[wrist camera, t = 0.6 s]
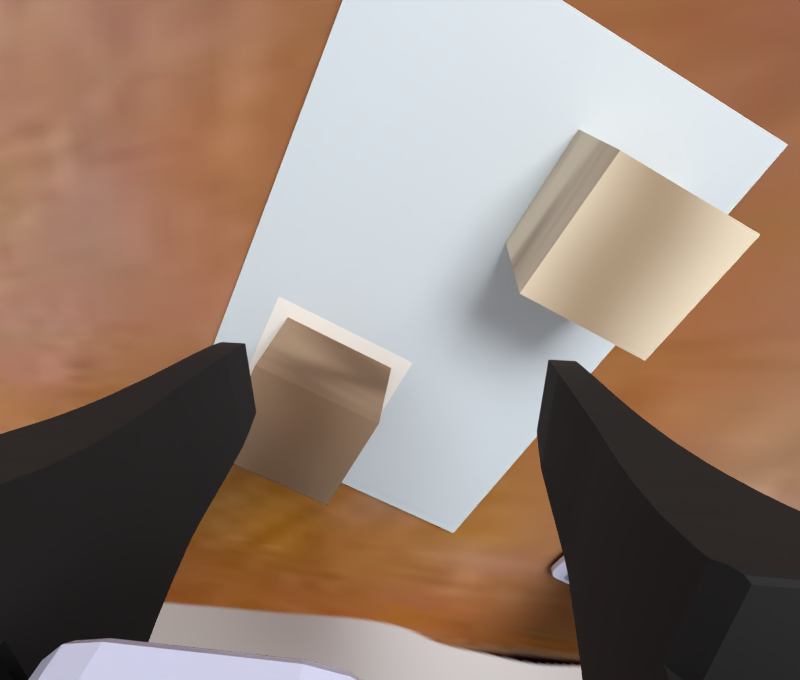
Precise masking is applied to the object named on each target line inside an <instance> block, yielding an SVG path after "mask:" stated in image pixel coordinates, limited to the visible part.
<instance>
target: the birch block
mask: <svg viewBox="0 0 800 680" xmlns="http://www.w3.org/2000/svg"><path fill="white" fill-rule="evenodd" d="M759 236H760V234H758V233H757V232H755V231H753V230H752V229H750V228H749V227H747V226H745V225H744V224H742V223H740V222H739V221H737V220H735V219H734V218H732V217H730V216H729V215H727V214H725V213H724V212H722V211H720V210H719V209H717V208H715V207H714V206H712V205H710V204H709V203H707V202H705V201H704V200H702V199H700V198H699V197H697V196H695V195H694V194H692V193H690V192H689V191H687V190H685V189H684V188H682V187H680V186H679V185H677V184H675V183H674V182H672V181H670V180H669V179H667V178H666V177H664V176H662V175H661V174H659V173H657V172H656V171H654V170H652V169H651V168H649V167H647V166H646V165H644V164H642V163H641V162H639V161H637V160H636V159H634V158H632V157H631V156H629V155H627V154H626V153H624V152H622V151H621V150H619V149H617V148H615V147H613V146H611V145H609V144H607V143H605V142H603V141H601V140H599V139H597V138H595V137H593V136H591V135H589V134H587V133H585V132H583V131H581V130H578V131H577V133H576V134H575V136H574V137H573V139H572V140H571V142H570V144H569V145H568V147H567V148H566V150H565V151H564V153H563V154H562V156H561V157H560V159H559V160H558V162H557V164H556V165H555V167H554V168H553V170H552V171H551V173H550V174H549V176H548V177H547V179H546V181H545V182H544V184H543V185H542V187H541V188H540V190H539V191H538V193H537V194H536V196H535V198H534V199H533V201H532V202H531V204H530V205H529V207H528V208H527V210H526V211H525V213H524V214H523V216H522V218H521V219H520V221H519V222H518V224H517V225H516V227H515V228H514V230H513V231H512V233H511V235H510V236H509V238H508V239H507V241H506V245H507V249H508V253H509V256H510V260H511V264H512V267H513V271H514V275H515V278H516V282H517V286H518V289H519V293H520V294H521V295H523V296H525V297H527V298H529V299H531V300H533V301H535V302H536V303H538V304H540V305H542V306H544V307H546V308H548V309H549V310H551V311H553V312H555V313H557V314H559V315H561V316H562V317H564V318H566V319H568V320H570V321H572V322H574V323H575V324H577V325H579V326H581V327H583V328H585V329H587V330H589V331H590V332H592V333H594V334H596V335H598V336H600V337H602V338H603V339H605V340H607V341H609V342H611V343H613V344H615V345H616V346H618V347H620V348H622V349H624V350H626V351H628V352H629V353H631V354H633V355H635V356H637V357H639V358H641V359H643V360H644V361H645V360H646V359H647V358H648V357H649V356H650V355H651V354H652V353H653V352H654V350H655V349H656V348H657V347H658V346H659V345H660V344H661V343H662V342H663V341H664V339H665V338H666V337H667V336H668V335H669V334H670V333H671V332H672V331H673V330H674V329H675V327H676V326H677V325H678V324H679V323H680V322H681V321H682V320H683V319H684V318H685V317H686V315H687V314H688V313H689V312H690V311H691V310H692V309H693V308H694V307H695V306H696V305H697V303H698V302H699V301H700V300H701V299H702V298H703V297H704V296H705V295H706V294H707V293H708V291H709V290H710V289H711V288H712V287H713V286H714V285H715V284H716V283H717V282H718V281H719V279H720V278H721V277H722V276H723V275H724V274H725V273H726V272H727V271H728V270H729V268H730V267H731V266H732V265H733V264H734V263H735V262H736V261H737V260H738V259H739V258H740V256H741V255H742V254H743V253H744V252H745V251H746V250H747V249H748V248H749V247H750V246H751V244H752V243H753V242H754V241H755V240H756V239H757V238H758V237H759Z"/></svg>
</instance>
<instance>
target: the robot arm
mask: <svg viewBox="0 0 800 680" xmlns="http://www.w3.org/2000/svg"><path fill="white" fill-rule="evenodd" d="M255 415H256V407H255V401H254V394H253V388H252V382H251V376H250V370H249V363H248V357H247V351H246V345H245V343H230V342H220V343H217V344H214V345H212V346H210V347H208V348H205V349H203V350H201V351H199V352H197V353H195V354H193V355H191V356H189V357H187V358H185V359H183V360H181V361H179V362H177V363H175V364H173V365H171V366H169V367H168V368H166V369H164V370H162V371H160V372H158V373H156V374H154V375H152V376H150V377H148V378H146V379H144V380H141V381H139V382H137V383H135V384H133V385H131V386H129V387H126V388H124V389H122V390H120V391H118V392H116V393H114V394H112V395H109V396H107V397H105V398H102V399H100V400H98V401H95V402H93V403H90V404H88V405H86V406H83V407H80V408H78V409H75V410H72V411H70V412H67V413H64V414H62V415H59V416H56V417H53V418H51V419H47V420H44V421H41V422H38V423H35V424H32V425H28V426H25V427H22V428H19V429H16V430H12V431H9V432H6V433H3V434H0V680H362V679H360V678H359V677H357V676H356V675H354V674H352V673H351V672H349V671H347V670H343V669H339V668H335V667H332V666H328V665H324V664H320V663H316V662H312V661H309V660H303V659H295V658H285V657H276V656H267V655H258V654H249V653H239V652H231V651H221V650H213V649H203V648H195V647H186V646H177V645H167V644H158V643H150V642H148V641H149V639H150V636H151V633H152V630H153V628H154V625H155V623H156V620H157V618H158V615H159V613H160V610H161V608H162V605H163V603H164V600H165V598H166V596H167V593H168V591H169V588H170V586H171V583H172V581H173V579H174V576H175V574H176V572H177V569H178V567H179V565H180V563H181V560H182V558H183V556H184V554H185V551H186V549H187V547H188V545H189V542H190V540H191V538H192V536H193V534H194V532H195V530H196V528H197V527H198V525H199V523H200V521H201V519H202V517H203V516H204V514H205V512H206V511H207V509H208V507H209V505H210V504H211V502H212V500H213V498H214V497H215V495H216V493H217V492H218V490H219V488H220V486H221V485H222V483H223V481H224V480H225V478H226V476H227V474H228V473H229V471H230V469H231V467H232V466H233V464H234V462H235V460H236V458H237V457H238V455H239V453H240V451H241V449H242V448H243V446H244V443H245V441H246V438H247V436H248V433H249V431H250V428H251V426H252V423H253V420H254V417H255ZM537 438H538V447H539V455H540V463H541V470H542V474H543V478H544V482H545V485H546V489H547V493H548V497H549V501H550V505H551V509H552V512H553V516H554V520H555V524H556V527H557V531H558V535H559V539H560V543H561V546H562V550H563V554H564V555H563V556H562V557H561V558H560V559H559V560H558V561H557V562H556V563H555V564H554V565H553V566H552V567H551V571H552V575H553V577H554V578H556V579H558V580H560V581H563V582H565V583H567V584H569V585H570V592H571V599H572V605H573V612H574V618H575V626H576V633H577V640H578V648H579V655H580V663H581V670H582V678H583V680H800V511H798V510H796V509H794V508H792V507H789V506H787V505H785V504H783V503H781V502H779V501H777V500H775V499H773V498H771V497H769V496H767V495H765V494H762V493H761V492H759V491H757V490H755V489H753V488H751V487H749V486H747V485H746V484H744V483H742V482H740V481H738V480H736V479H734V478H733V477H731V476H729V475H727V474H725V473H723V472H722V471H720V470H718V469H717V468H715V467H713V466H711V465H710V464H708V463H706V462H705V461H703V460H702V459H700V458H699V457H697V456H695V455H694V454H692V453H691V452H689V451H688V450H686V449H684V448H683V447H681V446H680V445H678V444H677V443H675V442H674V441H672V440H671V439H670V438H668V437H667V436H665V435H664V434H663V433H661V432H660V431H659V430H657V429H656V428H655V427H653V426H652V425H651V424H649V423H648V422H647V421H645V420H644V419H643V418H642V417H640V416H639V415H638V414H637V413H635V412H634V411H633V410H632V409H630V408H629V407H628V406H627V405H626V404H624V403H623V402H622V401H621V400H620V399H619V398H617V397H616V396H615V395H614V394H613V393H612V392H611V391H609V390H608V389H607V388H606V387H605V386H604V385H603V384H602V383H601V382H599V381H598V380H597V379H596V378H595V377H594V376H593V375H592V374H591V373H589V372H588V371H587V370H586V369H585V368H584V367H583V366H581V365H580V364H579V363H578V362H576V361H566V360H548V366H547V372H546V378H545V384H544V390H543V396H542V402H541V408H540V414H539V420H538V426H537Z"/></svg>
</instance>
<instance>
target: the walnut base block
mask: <svg viewBox="0 0 800 680" xmlns="http://www.w3.org/2000/svg"><path fill="white" fill-rule="evenodd" d="M390 372H391V368H390V367H388V366H386V365H384V364H382V363H380V362H378V361H376V360H374V359H372V358H370V357H368V356H366V355H364V354H362V353H360V352H358V351H356V350H354V349H352V348H350V347H348V346H346V345H344V344H341V343H339V342H337V341H335V340H333V339H331V338H329V337H327V336H325V335H323V334H321V333H319V332H317V331H315V330H313V329H311V328H309V327H307V326H305V325H303V324H301V323H299V322H297V321H295V320H293V319H291V318H289V317H288V318H287V319H286V321H285V322H284V324H283V325H282V327H281V328H280V330H279V331H278V333H277V334H276V336H275V337H274V338H273V340H272V341H271V343H270V344H269V346H268V347H267V349H266V350H265V352H264V353H263V355H262V356H261V357H260V359H259V360H258V362H257V363H256V365H255V367H254V369H253V371H252V374H251V382H252V388H253V394H254V401H255V407H256V415H255V417H254V420H253V423H252V426H251V428H250V431H249V433H248V436H247V438H246V441H245V443H244V446H243V448H242V449H241V451H240V453H239V455H238V457H237V458H236V460H235V462H234V464H235V465H237V466H239V467H242V468H244V469H246V470H248V471H251V472H253V473H255V474H257V475H260V476H262V477H264V478H266V479H269V480H271V481H273V482H275V483H278V484H280V485H282V486H285V487H287V488H289V489H291V490H294V491H296V492H298V493H300V494H303V495H305V496H307V497H309V498H312V499H314V500H316V501H319V502H321V503H323V504H325V505H328V503H329V501H330V500H331V498H332V497H333V495H334V494H335V492H336V490H337V489H338V487H339V486H340V484H341V483H342V481H343V479H344V478H345V476H346V475H347V473H348V472H349V470H350V468H351V467H352V465H353V464H354V462H355V461H356V459H357V457H358V456H359V454H360V453H361V451H362V449H363V448H364V446H365V445H366V443H367V442H368V440H369V438H370V437H371V435H372V434H373V432H374V431H375V429H376V427H377V426H378V424H379V421H380V417H381V412H382V408H383V403H384V399H385V394H386V390H387V385H388V381H389V376H390Z"/></svg>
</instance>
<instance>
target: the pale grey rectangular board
mask: <svg viewBox="0 0 800 680" xmlns="http://www.w3.org/2000/svg"><path fill="white" fill-rule="evenodd" d="M578 130H581V131H583V132H585V133H587V134H589V135H591V136H593V137H595V138H597V139H599V140H601V141H603V142H605V143H607V144H609V145H611V146H613V147H615V148H617V149H619V150H621V151H622V152H624V153H626V154H627V155H629V156H631V157H632V158H634V159H636V160H637V161H639V162H641V163H642V164H644V165H646V166H647V167H649V168H651V169H652V170H654V171H656V172H657V173H659V174H661V175H662V176H664V177H666V178H667V179H669V180H670V181H672V182H674V183H675V184H677V185H679V186H680V187H682V188H684V189H685V190H687V191H689V192H690V193H692V194H694V195H695V196H697V197H699V198H700V199H702V200H704V201H705V202H707V203H709V204H710V205H712V206H714V207H715V208H717V209H719V210H720V211H722V212H724V213H725V214H727V215H728V214H729V213H730V211H731V210H732V209H733V208H734V207H735V206H736V204H737V203H738V202H739V201H740V200H741V199H742V198H743V196H744V195H745V194H746V193H747V192H748V191H749V189H750V188H751V187H752V186H753V185H754V184H755V182H756V181H757V180H758V179H759V178H760V177H761V175H762V174H763V173H764V172H765V171H766V170H767V169H768V167H769V166H770V165H771V164H772V163H773V162H774V160H775V159H776V158H777V157H778V156H779V155H780V153H781V152H782V151H783V150H784V149H785V148H786V146H787V144H786V143H784V142H783V141H781V140H780V139H778V138H776V137H775V136H773V135H772V134H770V133H769V132H767V131H766V130H764V129H762V128H761V127H759V126H758V125H756V124H755V123H753V122H751V121H750V120H748V119H747V118H745V117H744V116H742V115H740V114H739V113H737V112H736V111H734V110H733V109H731V108H730V107H728V106H726V105H725V104H723V103H722V102H720V101H719V100H717V99H715V98H714V97H712V96H711V95H709V94H708V93H706V92H705V91H703V90H701V89H700V88H698V87H697V86H695V85H694V84H692V83H690V82H689V81H687V80H686V79H684V78H683V77H681V76H680V75H678V74H676V73H675V72H673V71H672V70H670V69H669V68H667V67H665V66H664V65H662V64H661V63H659V62H658V61H656V60H655V59H653V58H651V57H650V56H648V55H647V54H645V53H644V52H642V51H640V50H639V49H637V48H636V47H634V46H633V45H631V44H630V43H628V42H626V41H625V40H623V39H622V38H620V37H619V36H617V35H615V34H614V33H612V32H611V31H609V30H608V29H606V28H605V27H603V26H601V25H600V24H598V23H597V22H595V21H594V20H592V19H590V18H589V17H587V16H586V15H584V14H583V13H581V12H579V11H578V10H576V9H575V8H573V7H572V6H570V5H569V4H567V3H565V2H564V1H562V0H343V1H342V4H341V6H340V9H339V12H338V14H337V17H336V20H335V22H334V25H333V28H332V30H331V33H330V36H329V38H328V41H327V44H326V46H325V49H324V52H323V54H322V57H321V60H320V62H319V65H318V68H317V70H316V73H315V76H314V78H313V81H312V84H311V86H310V89H309V92H308V94H307V97H306V100H305V102H304V105H303V108H302V110H301V113H300V116H299V118H298V121H297V124H296V126H295V129H294V132H293V134H292V137H291V140H290V142H289V145H288V148H287V150H286V153H285V156H284V158H283V161H282V164H281V166H280V169H279V172H278V174H277V177H276V180H275V182H274V185H273V188H272V190H271V193H270V196H269V198H268V201H267V204H266V206H265V209H264V212H263V214H262V217H261V220H260V222H259V225H258V228H257V230H256V233H255V236H254V238H253V241H252V244H251V246H250V249H249V252H248V254H247V257H246V260H245V262H244V265H243V268H242V270H241V273H240V276H239V278H238V281H237V284H236V286H235V289H234V292H233V294H232V297H231V300H230V302H229V305H228V308H227V310H226V313H225V316H224V318H223V321H222V324H221V326H220V329H219V332H218V334H217V337H216V340H215V342H214V344H217V343H220V342H230V343H245V345H246V351H247V357H248V363H249V370H250V376H251V374H252V371H253V369H254V367H255V365H256V363H257V362H258V360H259V359H260V357H261V356H262V355H263V353H264V352H265V350H266V349H267V347H268V346H269V344H270V343H271V341H272V340H273V338H274V337H275V336H276V334H277V333H278V331H279V330H280V328H281V327H282V325H283V324H284V322H285V321H286V319H287V318H288V317H289V318H291V319H293V320H295V321H297V322H299V323H301V324H303V325H305V326H307V327H309V328H311V329H313V330H315V331H317V332H319V333H321V334H323V335H325V336H327V337H329V338H331V339H333V340H335V341H337V342H339V343H341V344H344V345H346V346H348V347H350V348H352V349H354V350H356V351H358V352H360V353H362V354H364V355H366V356H368V357H370V358H372V359H374V360H376V361H378V362H380V363H382V364H384V365H386V366H388V367H390V368H391V372H390V376H389V381H388V385H387V390H386V394H385V399H384V403H383V408H382V412H381V417H380V421H379V424H378V426H377V427H376V429H375V431H374V432H373V434H372V435H371V437H370V438H369V440H368V442H367V443H366V445H365V446H364V448H363V449H362V451H361V453H360V454H359V456H358V457H357V459H356V461H355V462H354V464H353V465H352V467H351V468H350V470H349V472H348V473H347V475H346V476H345V478H344V479H343V481H342V483H343V484H346V485H348V486H350V487H352V488H355V489H357V490H359V491H361V492H363V493H366V494H368V495H370V496H372V497H374V498H377V499H379V500H381V501H383V502H386V503H388V504H390V505H392V506H394V507H397V508H399V509H401V510H403V511H406V512H408V513H410V514H412V515H414V516H417V517H419V518H421V519H423V520H426V521H428V522H430V523H432V524H434V525H437V526H439V527H441V528H443V529H446V530H448V531H450V532H452V533H454V532H455V530H456V529H457V528H458V527H459V526H460V525H461V524H462V522H463V521H464V520H465V519H466V518H467V517H468V515H469V514H470V513H471V512H472V511H473V510H474V508H475V507H476V506H477V505H478V504H479V503H480V501H481V500H482V499H483V498H484V497H485V496H486V495H487V493H488V492H489V491H490V490H491V489H492V488H493V486H494V485H495V484H496V483H497V482H498V481H499V479H500V478H501V477H502V476H503V475H504V474H505V472H506V471H507V470H508V469H509V468H510V467H511V465H512V464H513V463H514V462H515V461H516V460H517V459H518V457H519V456H520V455H521V454H522V453H523V452H524V450H525V449H526V448H527V447H528V446H529V445H530V443H531V442H532V441H533V440H534V439H535V438H536V436H537V426H538V420H539V414H540V408H541V402H542V396H543V390H544V384H545V378H546V372H547V366H548V360H566V361H576V362H578V363H579V364H580V365H581V366H583V367H584V368H585V369H586V370H587V371H588V372H589V373H592V372H593V370H594V369H595V368H596V367H597V366H598V365H599V363H600V362H601V361H602V360H603V359H604V358H605V356H606V355H607V354H608V353H609V352H610V351H611V349H612V348H613V347H614V346H615V344H613V343H611V342H609V341H607V340H605V339H603V338H602V337H600V336H598V335H596V334H594V333H592V332H590V331H589V330H587V329H585V328H583V327H581V326H579V325H577V324H575V323H574V322H572V321H570V320H568V319H566V318H564V317H562V316H561V315H559V314H557V313H555V312H553V311H551V310H549V309H548V308H546V307H544V306H542V305H540V304H538V303H536V302H535V301H533V300H531V299H529V298H527V297H525V296H523V295H521V294H520V293H519V289H518V286H517V282H516V278H515V275H514V271H513V267H512V264H511V260H510V256H509V253H508V249H507V245H506V241H507V239H508V238H509V236H510V235H511V233H512V231H513V230H514V228H515V227H516V225H517V224H518V222H519V221H520V219H521V218H522V216H523V214H524V213H525V211H526V210H527V208H528V207H529V205H530V204H531V202H532V201H533V199H534V198H535V196H536V194H537V193H538V191H539V190H540V188H541V187H542V185H543V184H544V182H545V181H546V179H547V177H548V176H549V174H550V173H551V171H552V170H553V168H554V167H555V165H556V164H557V162H558V160H559V159H560V157H561V156H562V154H563V153H564V151H565V150H566V148H567V147H568V145H569V144H570V142H571V140H572V139H573V137H574V136H575V134H576V133H577V131H578Z"/></svg>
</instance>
